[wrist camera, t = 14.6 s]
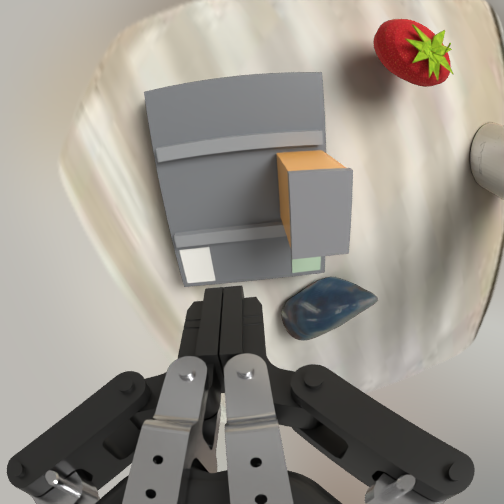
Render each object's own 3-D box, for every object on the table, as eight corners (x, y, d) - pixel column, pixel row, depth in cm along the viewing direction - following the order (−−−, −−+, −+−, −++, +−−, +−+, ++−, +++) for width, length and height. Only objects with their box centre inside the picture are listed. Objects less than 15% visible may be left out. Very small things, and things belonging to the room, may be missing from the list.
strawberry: (361, 17, 20) (413, -7, 11) (421, 52, 21) (483, 48, 13) (346, 64, 23) (396, 54, 14) (407, 96, 24) (469, 105, 15)
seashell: (269, 333, 35) (341, 370, 32) (295, 269, 32) (377, 308, 28) (288, 313, 41) (350, 345, 37) (311, 256, 37) (381, 289, 34)
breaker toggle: (322, 149, 24) (352, 170, 18) (323, 213, 27) (348, 253, 21) (275, 151, 24) (288, 173, 18) (279, 217, 27) (292, 259, 21)
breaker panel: (313, 74, 23) (324, 71, 20) (318, 257, 33) (326, 276, 30) (153, 91, 23) (141, 91, 20) (188, 271, 33) (183, 291, 30)
